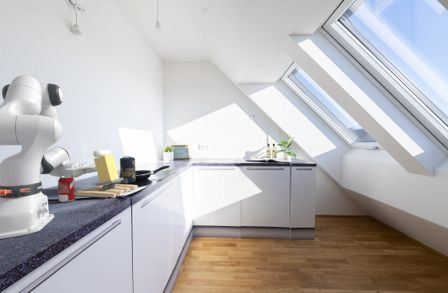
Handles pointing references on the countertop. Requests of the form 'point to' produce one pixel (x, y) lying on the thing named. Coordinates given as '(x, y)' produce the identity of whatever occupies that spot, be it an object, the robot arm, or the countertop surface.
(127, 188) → the wooden slatted trivet
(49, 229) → the countertop surface
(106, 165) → the yellow boxy piece
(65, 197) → the soda can
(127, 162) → the canister
